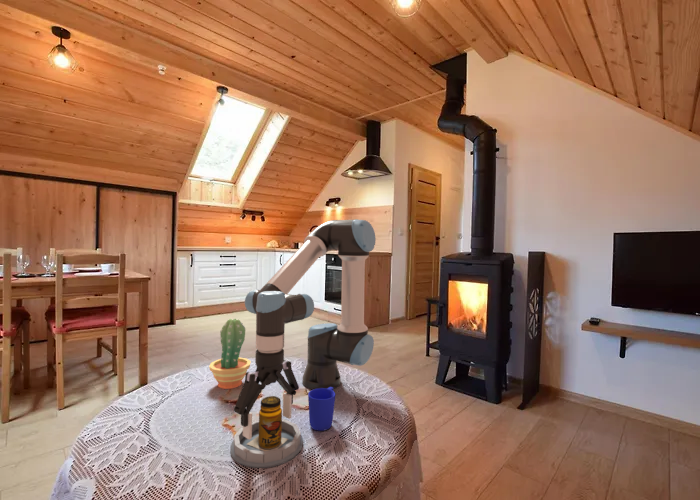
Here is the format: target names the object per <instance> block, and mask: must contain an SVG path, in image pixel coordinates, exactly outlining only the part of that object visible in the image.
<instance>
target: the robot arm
mask: <svg viewBox="0 0 700 500" xmlns="http://www.w3.org/2000/svg"><path fill="white" fill-rule="evenodd" d="M375 232H376V231H375V230H374V226H372V224H371V223H370V222H369V221H368V220H364V219H332V220H328V221H326V222H324V223H322V224H320V225H318V226H317V227H316V228H315V229H313V230H312V231H311V232H310V233H309V234H308V235H307V236H306V237H305V238H304V241H303V244H302V245H301V246H300V247H299V248H298V249H297V250H296V251H295V252H294V254H292V255H291V256H290V258H289V259H288V260H287V261H286V262H285V263H284V264H283V265H282V266H281V267H280V268H279V270H277V272H276V273H274V275H273V276H271V278H269V280H268V281H267V282H266V283H265V285H264V286H262V288H260V289H252V290H250V291H249V292H248V293H247V294H246V296H245V299H244V306H245V309H246V311H248V313H251V314H254V315H255V316H256V317H255V319H256V320H255V325H256V326H255V330H256V331H255V348H256V350H255V367H256V369H255V371H254V372H250V371H247V372H246V375H245V377H244V382H243V385H242V387H241V390H240V393H239V396H238V398H237V400H236V403H235V405H234V407H233V412H234V413H236V414H238V415H239V416H240V425H241V427H243V436H244V437H246V438H247V439H251V438H252V422H253V413H252V412H251V411H252V409H253V407H254V405H255V404H256V402H257V400H258V398H259V396H260V394H261V393H262V391H263V390H264V389H266V387H267V386H270V385H271V384H274V383H276V382H277V383H278V384H279V386H281V388H282V389H283V390H284V391H285V392H283V396H282V397H283V399H282V417H285V418H286V419H289V420H290V419H292V405H293V403H294V396H295V395H296V394H297V391H298V390H299V388H300V386H299V384H298V381H297V379H296V376H295V374H294V371H293V369H292V362H291V361H289V360H287V359H285V350H284V348H285V329H286V327H285V325H286V324H289V323H294V322H298V321H303V320H305V319H307V318H309V317H311V316H312V315H313V313H314V310H315V303H314V300H313V298H312V297H311V296H310V295H309V294H306V293H297V294H291V293H290V292H291V290H292V289H294V287H295V286H296V284H298V283H299V281H300V280H301V279H302V278H303V276H304V275H305V274H306V273H307V271H309V270H310V268H312V266H313V265H314V264H315V262H316V261H318V259H319V258H321V257H324V256H325V255H326V254H327V252H330V251H337V256H338V257H339V259H341V300H340V301H341V302H340V303H341V305H340V306H341V307H340V308H341V309H340V310H341V314H340V318H341V319H340V324H339V325H338V324H336V323H333V322H332V323H331V322H330V323H318V324H314V325H312V326H310V327H309V329H308V334H307V362H306V363H307V364H306V366H305V369H304V372H303V375H302V381H301V382H302V385H303V386H304V387H305V388H307V389H309V390H310V389H311V390H314V389H318V388H326V389H327V388H329V387H333V389H335V388H337V387H339V386H340V385H341V373H340V371H339V370H340V369H339V367H338V364H337V362H340V363H344V364H349V365H350V366H358V367H361V366H364V365H365V364H367V363H368V361H369V360H370V358H371V357H372V354H373V350H374V345H375V343H374V342H375V341H374V337H373V336H372V335H371V334H369V332H368V331H369V328H368V326H367V325H366V324H365V282H366V281H365V277H366V275H365V273H366V272H365V271H366V269H365V268H366V260H367V259H368V258H369V257H370V253H371V252H372V251H374V248H375V246H376V239H377V238H376V233H375ZM282 371H283V373H284V375H285V377H284V375H283V374H282ZM285 378H286V379H285Z"/></svg>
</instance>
